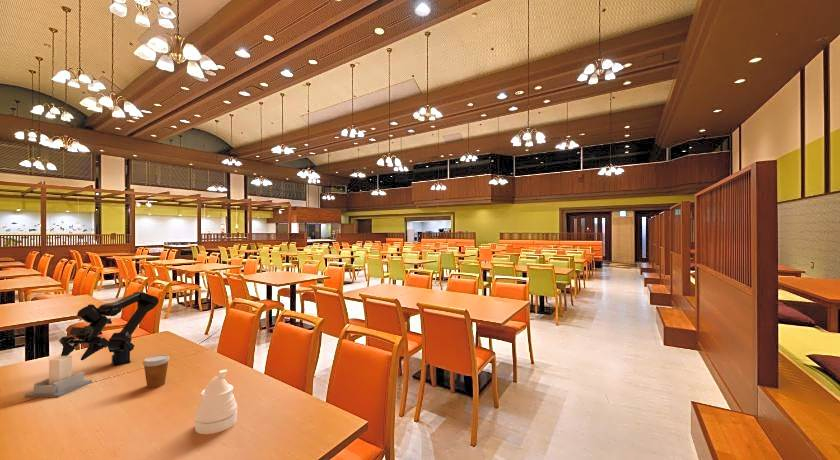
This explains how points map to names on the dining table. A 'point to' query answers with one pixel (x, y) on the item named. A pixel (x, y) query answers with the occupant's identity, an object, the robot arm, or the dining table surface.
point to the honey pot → (216, 407)
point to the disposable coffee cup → (156, 370)
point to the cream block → (60, 368)
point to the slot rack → (58, 386)
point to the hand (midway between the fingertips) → (71, 359)
